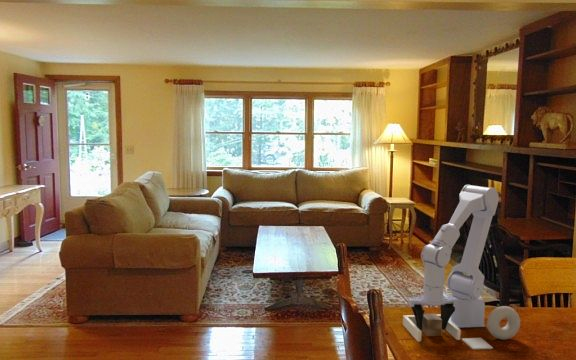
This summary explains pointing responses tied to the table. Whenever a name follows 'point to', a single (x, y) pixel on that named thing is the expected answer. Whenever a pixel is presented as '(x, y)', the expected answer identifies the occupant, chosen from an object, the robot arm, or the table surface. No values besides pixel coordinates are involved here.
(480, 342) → the mat
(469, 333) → the table surface
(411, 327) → the cream u-shaped arch
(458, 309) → the robot arm
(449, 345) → the table surface
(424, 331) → the block
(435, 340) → the table surface
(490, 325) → the donut
